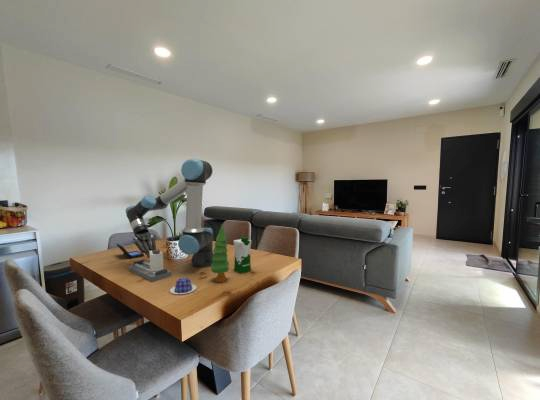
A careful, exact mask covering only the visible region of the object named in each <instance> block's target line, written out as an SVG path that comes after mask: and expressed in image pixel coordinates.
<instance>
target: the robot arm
mask: <svg viewBox="0 0 540 400" xmlns="http://www.w3.org/2000/svg"><path fill="white" fill-rule="evenodd" d="M180 172H181V175H182V177H183V178H182V179H181V180H180V181H178V182H176V184H174V185H173V186H172V187H170V188H168V189H167V190H165V191H164V192H163V193H161V194H160V195H159V196H156V198H155V197H154V196H152V195H149V194H147V195H145V196H144V197H142V198H141V200H140V201H138V202H137V204H136V205H135V204H131V205H129V206H127V207H126V208H125V214H126V215H125V216H126V218H127V219H128V222H129V224H130V227H131V229H132V231H133V234H134V237H133V238H132V240H131V243H133V244H135V246H136V247H137V249H138V250H139V252H140V253H142V254H144V255H146V258H148V259H150V254H151V253H153V250H155V249H157V245H156V244H157V243H156V235H155V234H153V235H152V234H151V233H150V232H149V228H148V226H147V223H146V222H145V220H144V216H145V215H146V214H147V213H149V212H150V211H151V212H152V211H159V210H164V209H166V208H167V207H168V205H169V204H170V203H172V202H174V201H175V200H177V199H178V198H180V197H181V196H183V195H184V194H185V193H186V206H185V209H186V210H185V227H184V228H183V229H182V231H181V232H182V236H181V237H179V239H178V242H177V245H178V249H179V250H180V252H181V253H183V254H185V255H188V256H189V255H190V256H191V255H192V257H191V260H190V265H191V266H192V267H196V268H207V267H211V265H212V262H213V260H212V257H213V255H214V252H213V250H214V248H213V243H214V241H213V240H214V237H213V236H214V235H213V234H214V233H213V228H211V227H202V212H203V211H202V210H203V190H204V186H205V185H206V184H207V183H206V181H207V180H209V179H210V178H211V177H212V175H213V167H212V165H211V164H210V162H208V161H205V160H202V159H197V158H189V159H187V160H185V161H184V162H183V163H182V165H181V168H180Z"/></svg>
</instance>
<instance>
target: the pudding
mask: <svg viewBox="0 0 540 400" xmlns="http://www.w3.org/2000/svg"><path fill="white" fill-rule="evenodd" d="M196 290H197V285H196V284H192V283H191V279H190V278H188V277H182V278H181V277H180V278H178V279H177V280H176V283H175V286H173V287H171V288H170V289H169V292H170V293H171V294H172V295H185V294H189V293H192V292H194V291H196Z"/></svg>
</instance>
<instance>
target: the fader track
mask: <svg viewBox="0 0 540 400" xmlns="http://www.w3.org/2000/svg"><path fill="white" fill-rule="evenodd" d="M132 263H133V264H132V265H129V266H128V271H130V272H132V273H134V274H136V275H138V276H139V277H141V278H144V279H146V280H147V281H150V282H151V283H154V282H158V281H159V280H163V279H166V278H170V277H172V276H173V271H171V270H169V269H168V268H164V267H163V269H161V270H160V271H156V272H155V271H151V270H150V261H146V259H141V260H136V261H133V262H132Z"/></svg>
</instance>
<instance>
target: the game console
mask: <svg viewBox="0 0 540 400" xmlns="http://www.w3.org/2000/svg"><path fill="white" fill-rule="evenodd" d="M116 246H117V247H118V248H119V250H120V251H121V252H122V253H123V256H125V257H127V258H128V259H131V260H132V259H135V258H136V259H137V258H142V257H144V256H145V253H141V251H140V250H139V251H138V250H134V251H127V249H126V248H124V247H123V246H122V245H120V244H119V243H116Z"/></svg>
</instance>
